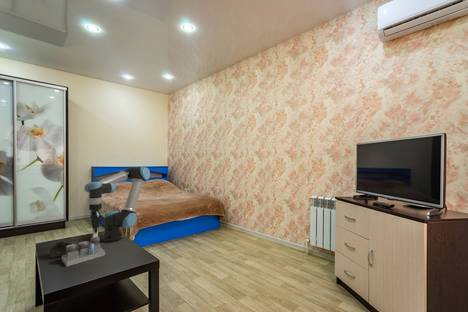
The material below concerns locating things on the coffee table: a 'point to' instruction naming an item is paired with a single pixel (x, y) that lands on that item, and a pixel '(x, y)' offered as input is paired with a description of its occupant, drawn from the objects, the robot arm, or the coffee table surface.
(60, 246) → the camera
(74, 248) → the knob
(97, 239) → the knob
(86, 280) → the coffee table surface
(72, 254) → the knob panel
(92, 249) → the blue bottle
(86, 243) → the knob mid
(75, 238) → the coffee table surface
